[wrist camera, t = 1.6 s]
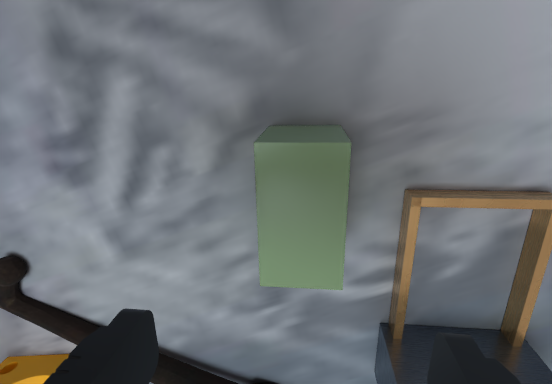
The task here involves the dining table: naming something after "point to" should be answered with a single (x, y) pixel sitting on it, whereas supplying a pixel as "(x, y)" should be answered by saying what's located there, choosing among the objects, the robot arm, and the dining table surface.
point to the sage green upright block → (302, 205)
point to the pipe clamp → (29, 368)
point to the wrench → (83, 327)
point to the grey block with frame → (493, 343)
